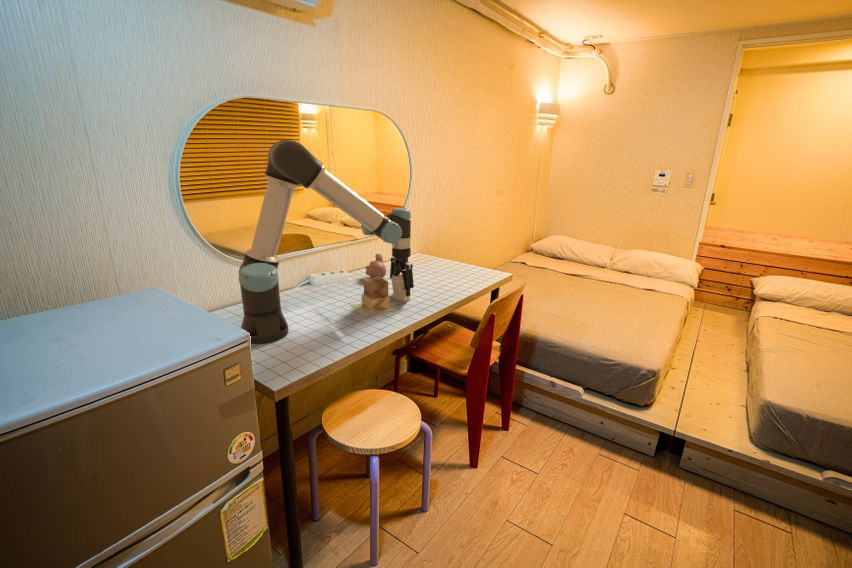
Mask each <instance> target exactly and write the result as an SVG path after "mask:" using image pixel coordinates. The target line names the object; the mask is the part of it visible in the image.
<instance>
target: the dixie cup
mask: <svg viewBox="0 0 852 568" xmlns="http://www.w3.org/2000/svg"><path fill="white" fill-rule="evenodd" d="M390 280H391V286H392V295H393V299H394V300H397V301H404V289H403V288H405V286H404V281H403V277H402V274H400V275H399V276H392V277H391V279H390Z"/></svg>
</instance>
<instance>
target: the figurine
mask: <svg viewBox="0 0 852 568" xmlns="http://www.w3.org/2000/svg"><path fill="white" fill-rule="evenodd" d="M364 269H365V275H366V276H368V277H369V278H375V277H381V278H383V279H384V277H385V276H386V274H387V267H386V266H385V264H384V260H383V256H382V254H381V253H376V254H375V260H371V261H370V262H369V263H368V265H366V266H365V267H364Z"/></svg>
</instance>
